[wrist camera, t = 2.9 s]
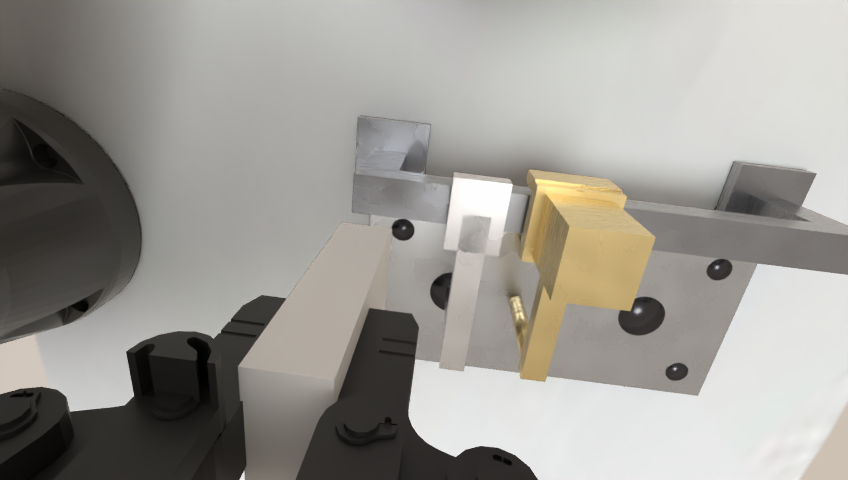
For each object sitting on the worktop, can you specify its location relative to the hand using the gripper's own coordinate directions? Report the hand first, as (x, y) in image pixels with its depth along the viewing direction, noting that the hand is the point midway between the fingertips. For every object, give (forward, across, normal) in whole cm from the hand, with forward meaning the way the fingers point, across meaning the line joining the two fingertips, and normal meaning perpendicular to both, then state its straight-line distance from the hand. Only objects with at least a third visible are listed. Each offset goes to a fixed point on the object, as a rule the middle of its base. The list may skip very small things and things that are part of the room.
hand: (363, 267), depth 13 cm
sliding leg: (+12, +8, -3) cm, 15 cm away
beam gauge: (+14, +10, -3) cm, 17 cm away
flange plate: (+14, +10, -7) cm, 18 cm away
